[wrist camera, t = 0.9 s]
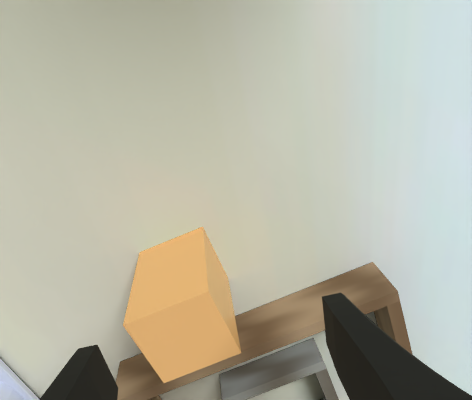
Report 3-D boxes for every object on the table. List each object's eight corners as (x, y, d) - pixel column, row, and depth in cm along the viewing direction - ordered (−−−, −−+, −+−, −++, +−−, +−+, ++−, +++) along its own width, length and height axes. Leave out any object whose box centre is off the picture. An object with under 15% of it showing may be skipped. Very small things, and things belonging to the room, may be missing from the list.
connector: (169, 301, 23) (164, 383, 17) (139, 252, 21) (123, 325, 15) (227, 277, 22) (241, 353, 17) (202, 226, 21) (208, 291, 15)
